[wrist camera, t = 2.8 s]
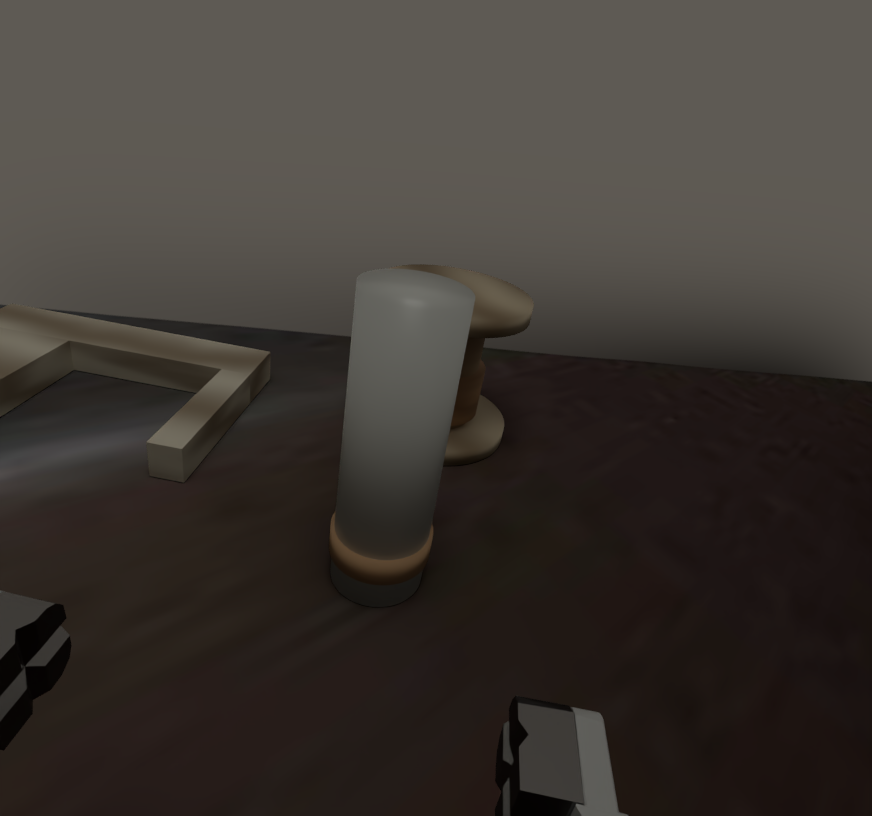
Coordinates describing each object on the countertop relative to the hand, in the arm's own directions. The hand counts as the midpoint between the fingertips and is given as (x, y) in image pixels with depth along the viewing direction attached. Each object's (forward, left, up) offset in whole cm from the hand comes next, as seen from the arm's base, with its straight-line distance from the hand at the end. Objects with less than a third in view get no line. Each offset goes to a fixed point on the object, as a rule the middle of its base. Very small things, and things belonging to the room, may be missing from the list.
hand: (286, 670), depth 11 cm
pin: (-9, -9, -10) cm, 16 cm away
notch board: (-2, -29, -10) cm, 30 cm away
